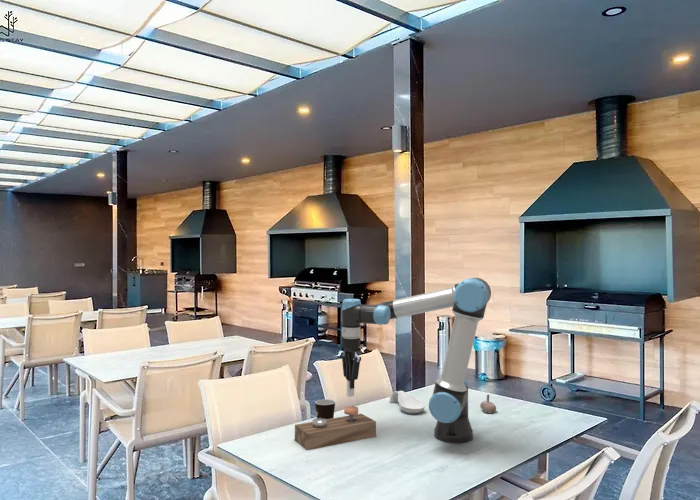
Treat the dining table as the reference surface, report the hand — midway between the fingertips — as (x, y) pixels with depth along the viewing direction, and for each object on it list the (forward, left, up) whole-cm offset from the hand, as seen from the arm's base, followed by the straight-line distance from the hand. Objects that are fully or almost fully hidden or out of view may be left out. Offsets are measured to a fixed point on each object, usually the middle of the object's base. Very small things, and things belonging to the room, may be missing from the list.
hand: (350, 395), depth 207 cm
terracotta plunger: (0, 0, -13) cm, 13 cm away
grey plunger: (0, +14, -16) cm, 21 cm away
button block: (0, +7, -16) cm, 17 cm away
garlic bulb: (-3, -71, -16) cm, 73 cm away
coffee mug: (+17, +3, -16) cm, 23 cm away
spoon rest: (+20, -41, -16) cm, 48 cm away
